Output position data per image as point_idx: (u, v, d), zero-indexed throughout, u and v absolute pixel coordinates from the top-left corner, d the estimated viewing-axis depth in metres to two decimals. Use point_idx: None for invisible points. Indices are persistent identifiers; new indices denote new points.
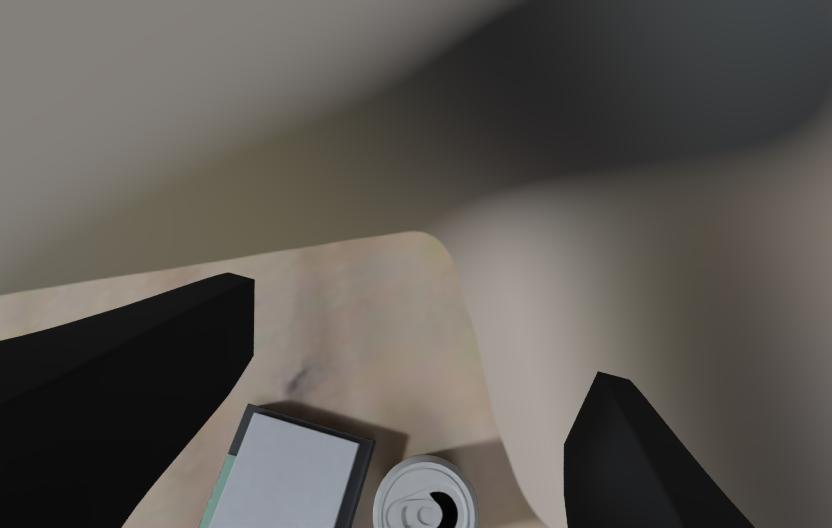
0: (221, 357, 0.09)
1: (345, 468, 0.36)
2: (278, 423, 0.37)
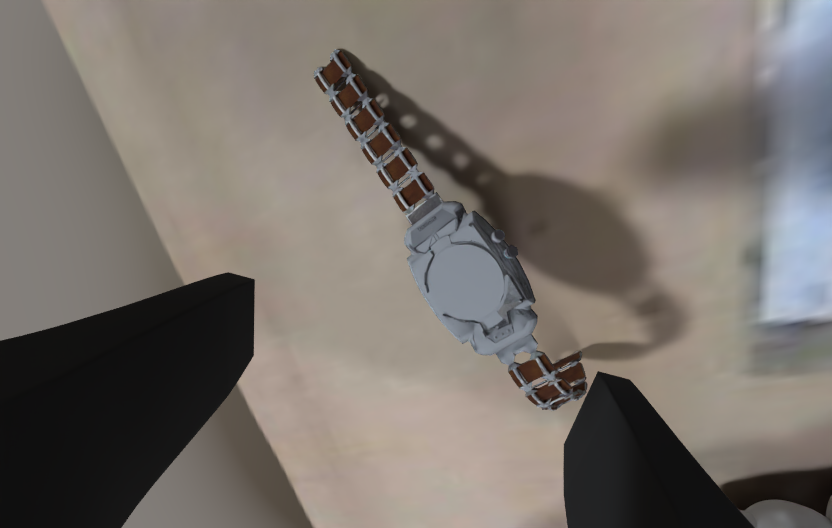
0: (221, 357, 0.09)
1: None
2: None
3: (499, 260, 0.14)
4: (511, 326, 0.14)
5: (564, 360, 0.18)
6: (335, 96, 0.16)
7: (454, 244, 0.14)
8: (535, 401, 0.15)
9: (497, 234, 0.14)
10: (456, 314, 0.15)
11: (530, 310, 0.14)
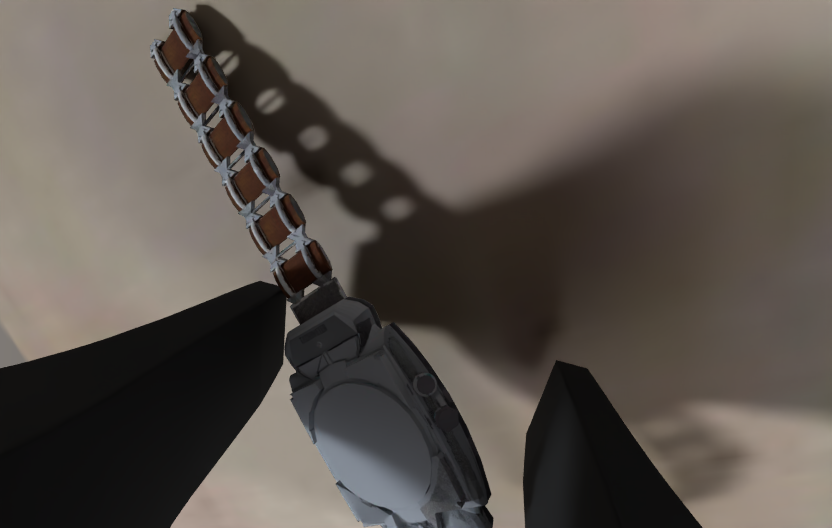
0: (255, 367, 0.09)
1: None
2: None
3: (427, 424, 0.08)
4: None
5: None
6: (183, 91, 0.09)
7: (355, 378, 0.08)
8: None
9: (421, 384, 0.07)
10: (358, 488, 0.09)
11: (479, 513, 0.08)
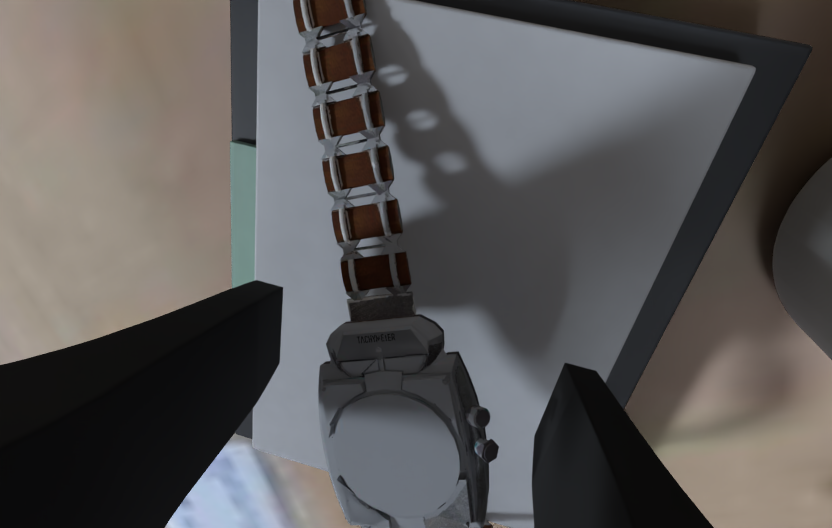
0: (251, 366, 0.09)
1: (680, 176, 0.09)
2: (371, 9, 0.08)
3: (464, 450, 0.08)
4: None
5: None
6: (316, 49, 0.09)
7: (405, 390, 0.09)
8: None
9: (480, 417, 0.08)
10: (359, 487, 0.09)
11: None
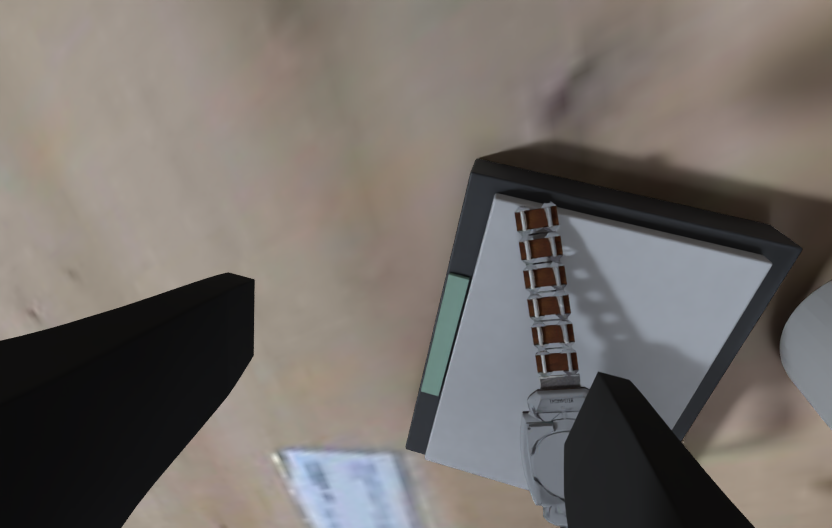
0: (221, 357, 0.09)
1: (729, 312, 0.15)
2: (559, 221, 0.15)
3: None
4: None
5: None
6: (527, 240, 0.15)
7: None
8: None
9: None
10: (546, 484, 0.16)
11: None
